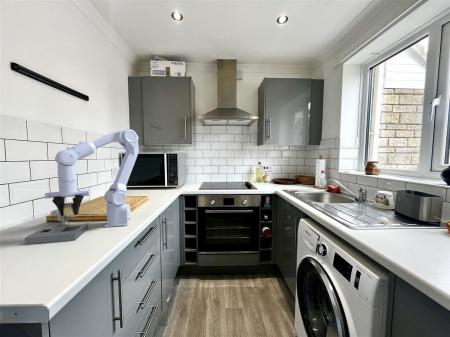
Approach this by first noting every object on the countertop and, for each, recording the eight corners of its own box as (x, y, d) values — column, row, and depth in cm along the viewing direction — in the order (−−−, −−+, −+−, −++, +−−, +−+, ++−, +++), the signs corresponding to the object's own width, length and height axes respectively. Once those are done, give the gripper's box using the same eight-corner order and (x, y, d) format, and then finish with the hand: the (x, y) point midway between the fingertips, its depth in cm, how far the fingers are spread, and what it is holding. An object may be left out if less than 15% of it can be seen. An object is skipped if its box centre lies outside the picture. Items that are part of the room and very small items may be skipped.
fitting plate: (88, 228, 90) (88, 222, 89) (75, 240, 78) (74, 233, 78) (45, 232, 86) (45, 225, 86) (24, 244, 74) (24, 237, 74)
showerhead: (43, 211, 91) (63, 205, 101) (44, 227, 92) (64, 219, 102) (62, 211, 90) (80, 205, 100) (64, 227, 91) (81, 220, 101)
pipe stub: (78, 217, 84) (77, 202, 83) (68, 220, 80) (67, 205, 79) (71, 216, 85) (70, 202, 84) (61, 219, 81) (59, 204, 80)
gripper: (91, 178, 87) (93, 210, 88) (50, 180, 83) (52, 213, 84) (86, 181, 80) (88, 215, 82) (40, 182, 76) (43, 219, 77)
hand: (69, 214), depth 82 cm, fingers closed on pipe stub, 4 cm apart
